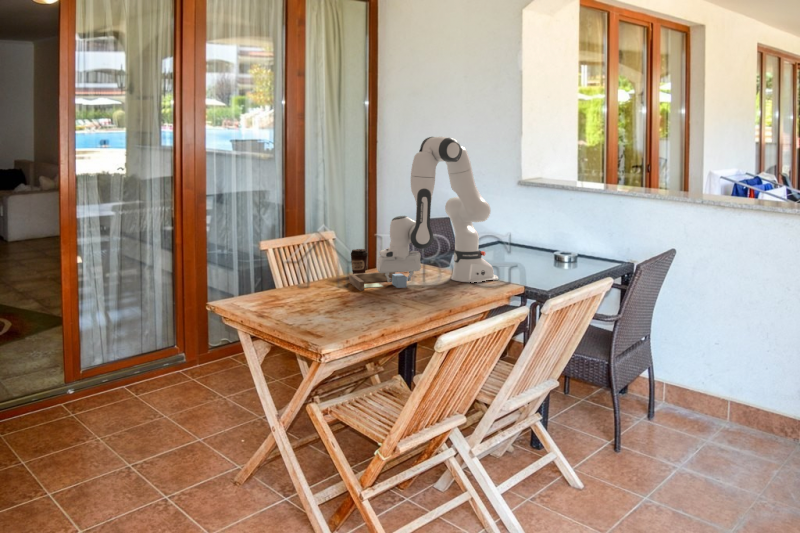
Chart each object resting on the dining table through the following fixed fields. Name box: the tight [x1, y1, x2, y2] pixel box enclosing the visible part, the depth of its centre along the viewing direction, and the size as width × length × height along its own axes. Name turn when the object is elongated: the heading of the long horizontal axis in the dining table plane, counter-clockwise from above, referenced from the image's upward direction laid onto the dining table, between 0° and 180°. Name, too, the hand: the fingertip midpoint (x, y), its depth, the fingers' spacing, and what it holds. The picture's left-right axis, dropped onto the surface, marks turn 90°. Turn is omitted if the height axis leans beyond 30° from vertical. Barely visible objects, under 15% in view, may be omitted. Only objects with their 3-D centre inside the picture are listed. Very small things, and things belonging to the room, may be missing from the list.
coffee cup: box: [350, 248, 369, 274], centre depth 366 cm, size 9×8×13 cm
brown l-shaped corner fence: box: [348, 271, 396, 292], centre depth 347 cm, size 22×18×4 cm
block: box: [391, 273, 408, 289], centre depth 345 cm, size 4×8×5 cm, turn 18°
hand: (399, 281), depth 345 cm, fingers open, 8 cm apart
